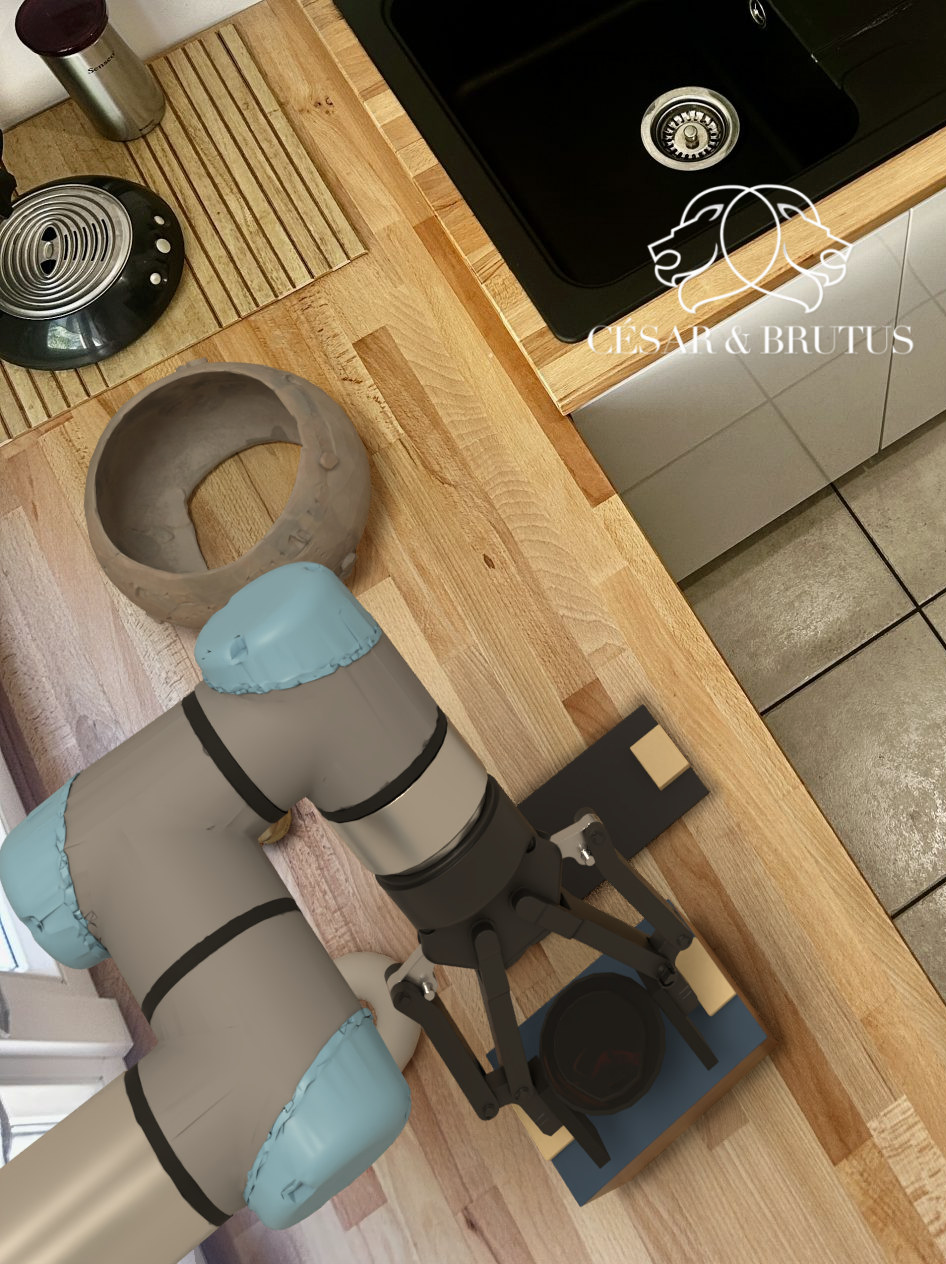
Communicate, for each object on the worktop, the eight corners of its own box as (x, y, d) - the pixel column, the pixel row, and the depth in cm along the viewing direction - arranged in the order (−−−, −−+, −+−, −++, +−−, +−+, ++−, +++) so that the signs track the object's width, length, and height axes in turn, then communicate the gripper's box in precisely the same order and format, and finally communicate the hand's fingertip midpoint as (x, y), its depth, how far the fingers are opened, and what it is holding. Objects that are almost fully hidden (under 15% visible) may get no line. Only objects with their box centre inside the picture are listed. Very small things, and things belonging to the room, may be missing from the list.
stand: (630, 1181, 107) (581, 1207, 86) (551, 1058, 111) (486, 1055, 90) (779, 1044, 111) (768, 1037, 90) (698, 930, 115) (668, 898, 94)
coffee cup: (543, 1020, 89) (512, 1014, 80) (646, 957, 90) (626, 944, 82) (594, 1138, 86) (568, 1145, 77) (700, 1070, 87) (686, 1070, 78)
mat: (506, 963, 115) (501, 962, 113) (443, 866, 118) (437, 863, 116) (709, 792, 120) (707, 788, 118) (643, 704, 124) (640, 699, 122)
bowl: (87, 516, 134) (6, 456, 121) (296, 358, 141) (241, 285, 127) (223, 708, 125) (152, 665, 112) (440, 530, 132) (397, 469, 119)
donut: (434, 1081, 111) (419, 938, 116) (423, 1082, 108) (408, 935, 113) (301, 1113, 111) (292, 968, 115) (286, 1115, 107) (277, 966, 112)
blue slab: (581, 1207, 86) (576, 1209, 85) (486, 1055, 90) (479, 1054, 89) (768, 1037, 90) (766, 1036, 88) (668, 898, 94) (665, 895, 92)
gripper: (565, 670, 82) (760, 942, 90) (255, 914, 77) (490, 1181, 85) (609, 726, 76) (815, 1015, 83) (272, 998, 70) (526, 1280, 78)
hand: (651, 1098), depth 84 cm, fingers closed on coffee cup, 7 cm apart
